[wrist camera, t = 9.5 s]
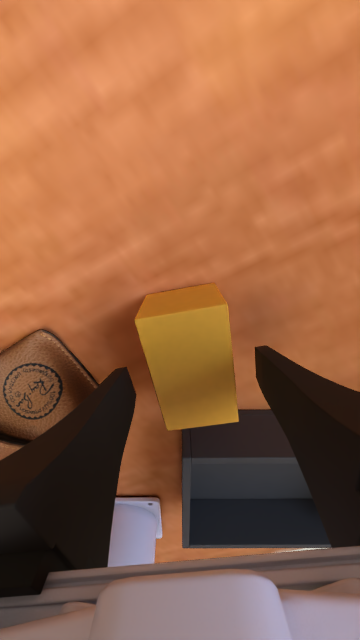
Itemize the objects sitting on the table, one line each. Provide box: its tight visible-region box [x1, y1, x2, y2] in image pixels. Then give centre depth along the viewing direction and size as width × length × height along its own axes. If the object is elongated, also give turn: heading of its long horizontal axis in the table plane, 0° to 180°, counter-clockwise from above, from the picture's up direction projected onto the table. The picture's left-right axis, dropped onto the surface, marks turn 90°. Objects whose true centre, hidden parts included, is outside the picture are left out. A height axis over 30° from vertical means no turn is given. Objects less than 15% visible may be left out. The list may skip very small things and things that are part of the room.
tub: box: [182, 410, 332, 548], centre depth 18 cm, size 16×13×4 cm
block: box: [134, 283, 239, 431], centre depth 13 cm, size 4×8×4 cm, turn 10°
